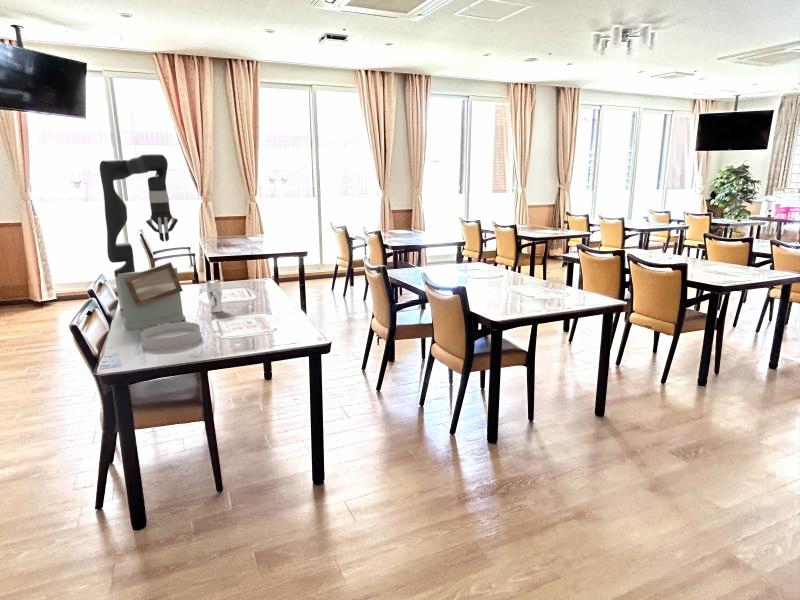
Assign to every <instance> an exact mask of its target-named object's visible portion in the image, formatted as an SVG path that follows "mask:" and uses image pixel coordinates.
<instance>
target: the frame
mask: <svg viewBox="0 0 800 600" xmlns="http://www.w3.org/2000/svg"><path fill="white" fill-rule="evenodd" d="M174 268H175V267H174V266H173V263H172V261H168V262H166V263H164V264H160V265H157V266H155V267H151V268H149V269H146V270H142V271H143V272H140V273H137V274H134V275H131V276H128V277H125V278H124V280H125V282H126V284H127V286H128V288H129V291H130V293H131V295H132V297H133V299H134V302H135V304H136V306H137V308H139V307H142V306H144V305H147V304H150V303H152V302H155V301H158V300H160V299H163V298H165V297H168V296H171V295H173V294H176V293H179V292H180V293H182V292H184V290H183V289H182V288H183V287H182V285H181V283H180V280H179V277H178V278H177V276H176V273H175V271H174Z"/></svg>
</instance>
